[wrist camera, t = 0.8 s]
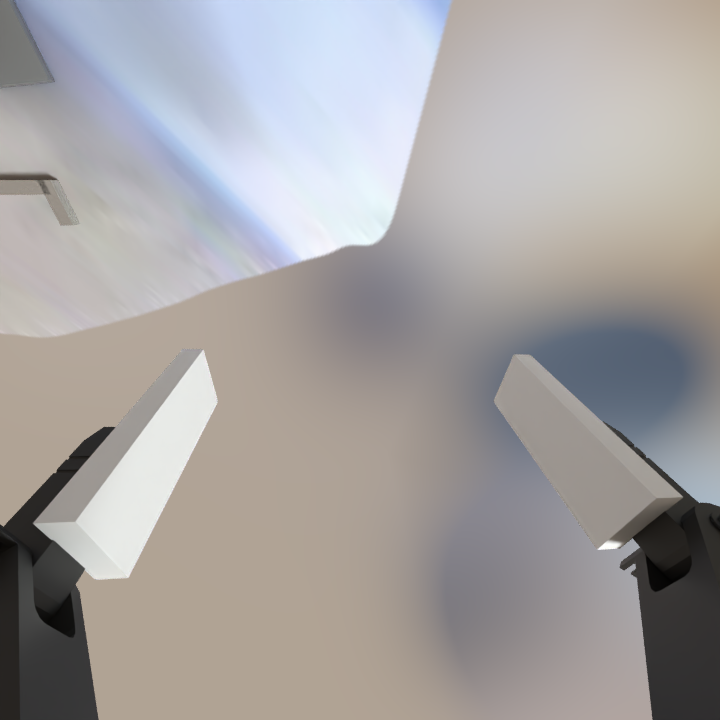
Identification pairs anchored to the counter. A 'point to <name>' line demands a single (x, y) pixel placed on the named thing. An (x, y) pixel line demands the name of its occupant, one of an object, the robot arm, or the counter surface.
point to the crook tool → (51, 192)
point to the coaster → (19, 51)
